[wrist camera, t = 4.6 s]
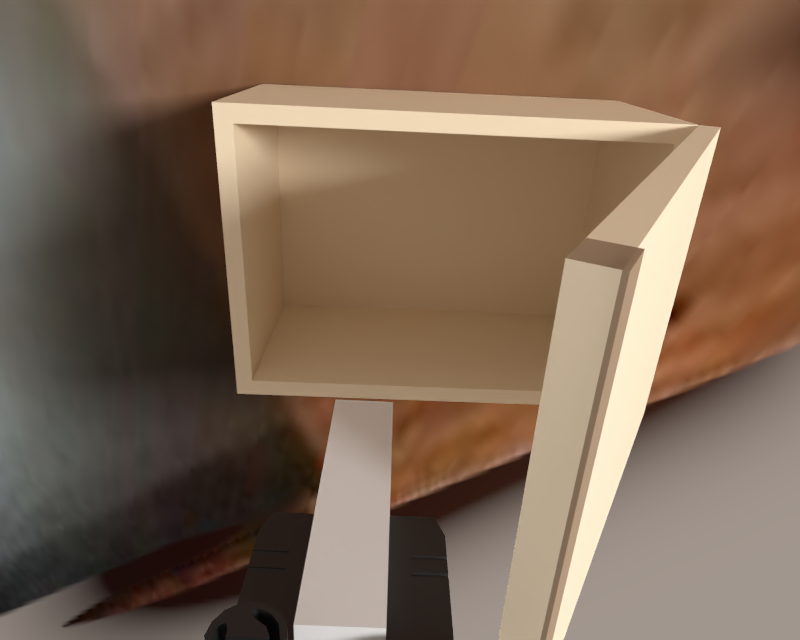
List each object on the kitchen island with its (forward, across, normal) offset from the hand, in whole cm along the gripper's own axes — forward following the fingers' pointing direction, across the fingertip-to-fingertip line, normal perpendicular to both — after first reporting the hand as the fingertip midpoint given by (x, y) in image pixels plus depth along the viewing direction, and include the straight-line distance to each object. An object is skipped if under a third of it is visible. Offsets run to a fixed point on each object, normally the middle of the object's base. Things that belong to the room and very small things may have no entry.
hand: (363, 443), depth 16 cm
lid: (+4, +8, 0) cm, 9 cm away
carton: (+23, +3, 0) cm, 23 cm away
